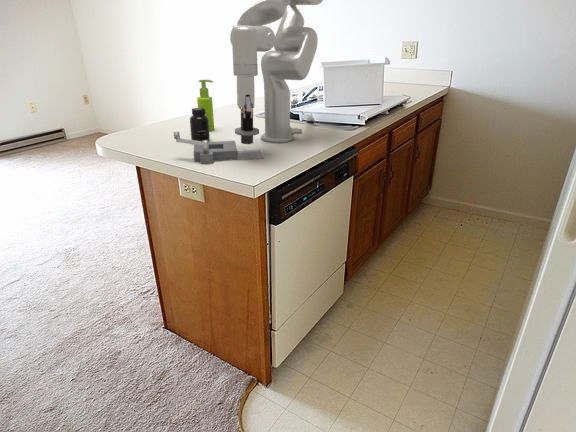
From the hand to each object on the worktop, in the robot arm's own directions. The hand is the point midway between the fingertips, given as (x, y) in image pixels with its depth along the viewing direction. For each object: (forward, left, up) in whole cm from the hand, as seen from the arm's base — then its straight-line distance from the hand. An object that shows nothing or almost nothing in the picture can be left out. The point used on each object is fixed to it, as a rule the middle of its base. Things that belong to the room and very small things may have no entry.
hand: (247, 128), depth 137 cm
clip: (+18, +2, -6) cm, 19 cm away
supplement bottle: (+16, -21, -9) cm, 28 cm away
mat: (0, 0, -9) cm, 9 cm away
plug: (0, 0, -5) cm, 5 cm away
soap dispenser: (+13, -37, -9) cm, 41 cm away
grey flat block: (+11, -1, -9) cm, 14 cm away
